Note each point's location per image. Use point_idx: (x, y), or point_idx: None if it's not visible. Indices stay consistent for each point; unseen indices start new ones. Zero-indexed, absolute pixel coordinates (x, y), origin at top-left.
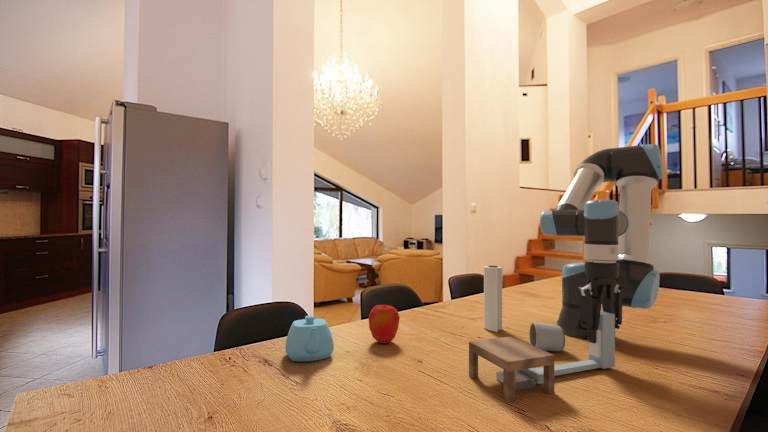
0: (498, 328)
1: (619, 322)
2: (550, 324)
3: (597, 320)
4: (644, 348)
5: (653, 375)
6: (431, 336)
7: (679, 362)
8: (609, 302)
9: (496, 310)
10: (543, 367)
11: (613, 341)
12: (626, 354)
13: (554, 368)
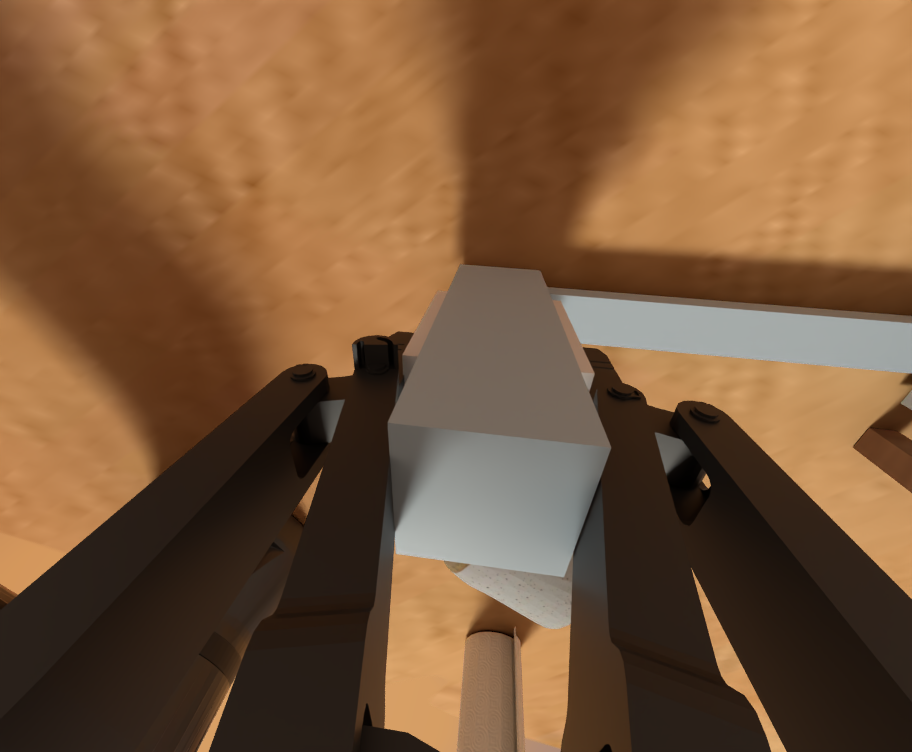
0: (495, 639)
1: (313, 376)
2: (500, 590)
3: (627, 436)
4: (122, 361)
5: (351, 118)
6: (723, 675)
7: (77, 184)
8: (375, 614)
9: (517, 722)
10: (859, 368)
11: (453, 305)
12: (252, 351)
13: (833, 338)
